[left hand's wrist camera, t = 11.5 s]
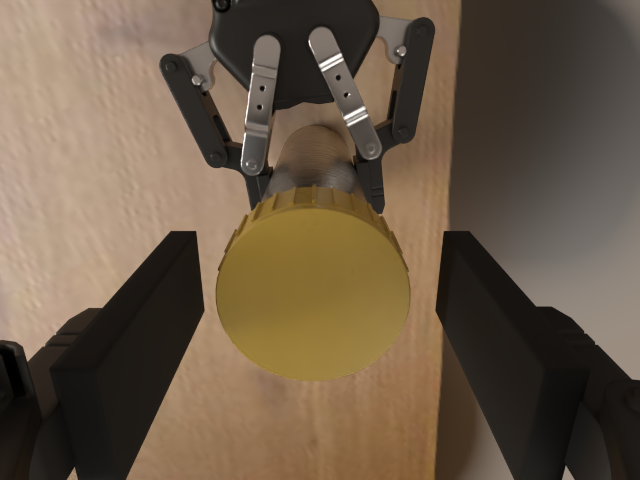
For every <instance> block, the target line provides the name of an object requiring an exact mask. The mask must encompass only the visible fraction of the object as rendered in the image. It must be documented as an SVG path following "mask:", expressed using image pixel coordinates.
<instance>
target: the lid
mask: <svg viewBox="0 0 640 480" xmlns="http://www.w3.org/2000/svg"><path fill="white" fill-rule="evenodd" d="M224 252H225V255H224V257H223V259H222V261H221V263H220V265H219V267H218V271H219V274H218V277H217V284H216V305H217V311H218V315H219V318H220V321H221V324H222V326H223V328H224V330H225V332H226V334H227V335H228V337H229V338H230V340H231V341H232V343H233V344H234V345H235V346H236V348H237V349H238V350H239V351H240V352H241V353H242V354H243V355H244V356H245V357H247V358H248V359H249V360H250V361H252V362H253V363H255V364H256V365H258V366H259V367H261V368H263V369H265V370H267V371H269V372H271V373H274V374H276V375H279V376H283V377H286V378H290V379H296V380H303V381H323V380H330V379H336V378H340V377H344V376H347V375H350V374H352V373H355V372H357V371H360V370H361V369H363V368H365V367H367V366H369V365H370V364H372V363H373V362H374V361H376V360H377V359H379V358H380V357H381V356H382V355H383V354H384V353H385V352H386V351H387V350H388V349H389V348H390V347H391V346H392V344H393V343H394V342H395V340H396V339H397V337H398V336H399V334H400V333H401V330H402V328H403V326H404V324H405V322H406V318H407V315H408V312H409V306H410V283H409V277H408V274H407V272H409V270H408V267H407V265H406V263H405V261H404V258H403V256H402V254H403V253H402V250H401V248H400V246H399V244H398V242H397V240H396V237H395V235H394V233H393V231H391V232H390V230H389V228H388V226H387V223H386V221H385V219H384V217H383V216H381V217H380V216H379V215H378V214H377V213H376V212H375V211H374V210H373V209H372V206H371V204H370V203H368V204H366V203H364V202H363V201H361V200H360V199H358V198H356V197H355V194H353V193H351V195H350V194H348V193H345V192H342V191H339V190H336V187H332V189H331V188H326V187H316V185H313V187H301V188H296V186H295V187H293V188H292V189H291V190H288V191H285V192H282V193H279V194H278V193H277V192H276V193H274V195H273V197H271V198H269V199H267V200H266V201H264V202H263V203H261V202H259V203H257V206H256V208H255V209H254V210H253V211H252V212H251V213H250V214H249V215H245V216H244V217H243V219H242V221H241V224H240V226H239V228H238V230H236V229H235V231H234V233H233V235H232V237H231V239H230V241H229V243H228V245H227V247H226V249H225V251H224Z"/></svg>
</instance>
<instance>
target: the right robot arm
mask: <svg viewBox="0 0 640 480" xmlns="http://www.w3.org/2000/svg"><path fill="white" fill-rule="evenodd" d="M211 2H212V8H213V20H212V25H211V29H210V32H209V41H208V42H205V43H203V44H201V45H199V46H197V47H195V48H193V49H190V50H188V51H186V52H184V53H182V54H166V55H164V56H163V57H162V58H161V60H160V64H159V67H160V71H161V73H162V75H163V77H164V79H165V81H166V83H167V85H168V87H169V89H170V91H171V93H172V95H173V97H174V99H175V101H176V103H177V105H178V107H179V109H180V111H181V113H182V115H183V117H184V119H185V121H186V123H187V125H188V127H189V129H190V131H191V133H192V134H193V136H194V138H195V140H196V142H197V144H198V146H199V148H200V150H201V152H202V154H203V156H204V158H205V160H206V162H207V163H208V165H210V166H211V167H213V168H220V167H224V168H229V169H234V170H237V171H238V172H240V173H241V174H242V175H243V176H244V178H245V181H246V186H247V191H248V196H249V201H250V206H251V211H253V210H254V209H255V208H256V206H257V203H259V202H261V201H262V199H263V196H264V194H265V191H266V189H267V186H268V184H269V181H270V179H271V177H272V174H273V172H274V171H273V167H269V166H268V160H267V159H268V154H269V147H270V141H271V135H272V129H273V125H274V120H275V114H276V110H281V109H288V108H291V107H293V106H295V105H298V104H300V103H302V102H308V103H315V104H323V103H330V102H334V100H335V102H336V104H337V106H338V108H339V110H340V112H341V115H342V117H343V119H344V121H345V123H346V125H347V127H348V129H349V131H350V134H351V136H352V138H353V140H354V142H355V147H356V156H353V162H354V168H355V171H356V173H357V176H358V179H359V181H360V184H361V187H362V189H363V192H364V195H365V197H366V200H367V203H370V204H371V206H372V209H373V210H374V211H375V212H376V213H377V214H382V212H383V209H384V206H385V201H384V189H383V178H382V166H381V160H382V157H383V155H384V153H385V152H386V151H387V150H389V149H390V148H392V147H394V146H396V145H398V144H400V143H408V142H410V141H411V140H412V139H413V137H414V135H415V132H416V126H417V121H418V116H419V111H420V106H421V101H422V96H423V90H424V85H425V80H426V75H427V70H428V65H429V60H430V54H431V49H432V44H433V39H434V34H435V26H434V24H433V22H432V21H431V20H430V19H428V18H425V17H421V18H417V19H415V20H406V19H399V18H392V17H384V16H379V13H378V10H377V8H376V6H375V5H374V3H373V2H372V0H211ZM376 37H377V38H379V39H381V40H382V42H383V43H384V46H385V56H386V58H387V60H388V61H389V62H390V63H392V64H396V67H395V73H394V79H393V85H392V90H391V96H390V102H389V108H388V114H387V120H386V121H384V122H382V123H380V124H378V125H376V126H373V124H372V122H371V120H370V117H369V115H368V113H367V110H366V107H365V105H364V103H363V101H362V98H361V96H360V94H359V92H358V89H357V87H356V85H355V83H354V81H353V79H354V77H355V75H356V74H357V72H358V70H359V68H360V66H361V64H362V62H363V60H364V59H365V57H366V55H367V53H368V51H369V49H370V47H371V45H372V43H373V42H374V40H375V38H376ZM217 61H219V62H220V63H221V64H222V65H223V66H224V67H225V68H226V69H227V70H228V71H229V72H230V74H231V75H232V76H233V77H234V78H235V79H236V80H237V81H238V82H239V83H240V84H241V85H242V86H243V87H244V88H245V89H246V90H247V91H248V92H249V98H248V105H247V112H246V119H245V135H244V142H243V144H241V143H237V142H233V141H232V139H231V137H230V135H229V133H228V131H227V129H226V127H225V125H224V122H223V120H222V118H221V116H220V114H219V112H218V110H217V108H216V106H215V103H214V101H213V99H212V97H211V95H210V93H209V90H211V89H212V88H213V86H214V84H215V77H214V73H213V68H214V65H215V63H216V62H217Z"/></svg>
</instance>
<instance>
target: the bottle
mask: <svg viewBox="0 0 640 480" xmlns="http://www.w3.org/2000/svg"><path fill="white" fill-rule="evenodd" d="M313 185H316V187H326V188H331V189H332V187H336V190H339V191H342V192H345V193H348V194H350V195H351V193H353V194H355V197H356V198H358V199H360V200H361V201H363V202H364V203H366V204H368V203H367V200H366V197H365V195H364V192H363V189H362V187H361V184H360V181H359V179H358V176H357V173H356V171H355V168H354V165H353V162H352V160H351V157H350V154H349V152H348V149H347V147H346V144H345V142H344V141H343V139H342V138H341V137H340V136H339V135H338V134H337V133H336V132H335V131H333V130H331V129H329V128H327V127H324V126H318V125H312V126H306V127H303V128H301V129H299V130H297V131H296V132H294V133H293V134H292V135H291V136H290V137H289V138H288V140H287V141H286V143H285V145H284V147H283V149H282V152H281V154H280V157H279V159H278V162H277V164H276V167H275V169H274V172H273V174H272V177H271V179H270V181H269V184H268V186H267V189H266V191H265V194H264V196H263V199H262V201H261V203H263V202H264V201H266V200H267V199H269V198H271V197H273V195H274V193H276V192H277V193H278V194H279V193H282V192H285V191H288V190H291V189H292V188H293V187H295V186H296V188H301V187H313Z"/></svg>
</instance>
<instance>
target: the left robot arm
mask: <svg viewBox="0 0 640 480" xmlns="http://www.w3.org/2000/svg"><path fill="white" fill-rule="evenodd" d="M204 311H205V310H204V301H203V291H202V282H201V272H200V263H199V253H198V244H197V235H196V231H171V232H170V233H169V234H168V235H167V236H166V237H165V238H164V239H163V241H162V242H161V243H160V244H159V245H158V246H157V247H156V248H155V250H154V251H153V252H152V253H151V254H150V255H149V256H148V257H147V259H146V260H145V261H144V262H143V263H142V264H141V265H140V266H139V268H138V269H137V270H136V271H135V272H134V273H133V274H132V275H131V277H130V278H129V279H128V280H127V281H126V282H125V283H124V285H123V286H122V287H121V288H120V289H119V290H118V291H117V292H116V294H115V295H114V296H113V297H112V298H111V299H110V300H109V301H108V303H107V304H106V305H105V306H104V307H103V308H88V309H86V310H85V311H83V312H81V313H80V314H78V315H76V316H74V317H73V318H71V319H69V320H68V321H67V322H66V323H65V324H64V325H63V326H62V327H61V328H60V329H59V330H58V331H57V332H56V335H54V336H53V337H52V338H51V339H50V340H49V341H48V342H47V343H46V345H45V347H42V348H41V349H40V350H39V351H38V352H37V353H36V354H35V355H34V356H33V357H32V358H31V359H30V360H29V361H28V362H27V360H26V356H25V353H24V349H23V347H22V346H21V345H19V344H18V343H17V342H13V341H5V340H0V480H67V478H68V477H69V475H70V473H71V472H72V470H73V468H74V467H75V470H76V474H77V477H78V480H126V478H127V476H128V474H129V472H130V469H131V467H132V465H133V463H134V461H135V459H136V457H137V454H138V452H139V450H140V448H141V446H142V444H143V442H144V439H145V437H146V435H147V433H148V431H149V429H150V427H151V424H152V422H153V420H154V418H155V416H156V414H157V412H158V409H159V407H160V405H161V403H162V401H163V399H164V397H165V394H166V392H167V390H168V388H169V386H170V384H171V382H172V379H173V377H174V375H175V373H176V371H177V369H178V366H179V364H180V362H181V360H182V358H183V356H184V354H185V351H186V349H187V347H188V345H189V343H190V341H191V339H192V336H193V334H194V332H195V330H196V328H197V326H198V324H199V321H200V319H201V317H202V315H203V313H204ZM435 311H436V313H437V315H438V317H439V319H440V321H441V324H442V326H443V328H444V330H445V332H446V334H447V336H448V339H449V341H450V343H451V345H452V347H453V349H454V351H455V354H456V356H457V358H458V360H459V362H460V364H461V366H462V369H463V371H464V373H465V375H466V377H467V379H468V381H469V384H470V386H471V388H472V390H473V392H474V394H475V397H476V399H477V401H478V403H479V405H480V407H481V409H482V412H483V414H484V416H485V418H486V420H487V422H488V424H489V427H490V429H491V431H492V433H493V435H494V437H495V439H496V442H497V444H498V446H499V448H500V450H501V452H502V454H503V457H504V459H505V461H506V463H507V465H508V467H509V469H510V472H511V474H512V476H513V478H514V480H562V477H563V474H564V470H565V466H567V468H568V469H569V471H570V473H571V474H572V476H573V477H574V479H575V480H640V380H632V379H631V378H630V377H629V376H628V375H627V374H626V373H625V372H624V371H623V370H622V369H621V368H620V367H619V366H618V365H617V364H616V363H615V362H614V361H613V360H612V359H611V358H610V357H609V356H608V355H607V354H606V353H605V352H604V351H603V350H602V349H601V348H600V347H599V346H598V345H595V342H594V341H593V340H592V339H591V338H590V337H589V336H588V335H587V334H584V331H583V329H582V328H581V327H580V326H579V325H578V324H577V323H576V322H575V321H574V320H573V319H572V318H570V317H569V316H567V315H565V314H563V313H562V312H560V311H558V310H556V309H555V308H553V307H536V306H535V305H534V304H533V303H532V301H531V300H530V299H529V298H528V297H527V296H526V295H525V294H524V292H523V291H522V290H521V289H520V288H519V287H518V286H517V285H516V283H515V282H514V281H513V280H512V279H511V278H510V277H509V276H508V274H507V273H506V272H505V271H504V270H503V269H502V268H501V266H500V265H499V264H498V263H497V262H496V261H495V260H494V259H493V257H492V256H491V255H490V254H489V253H488V252H487V251H486V250H485V248H484V247H483V246H482V245H481V244H480V243H479V242H478V241H477V239H476V238H475V237H474V236H473V235H472V234H471V233H470V232H469V231H444V235H443V244H442V253H441V263H440V272H439V282H438V291H437V301H436V310H435Z"/></svg>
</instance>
